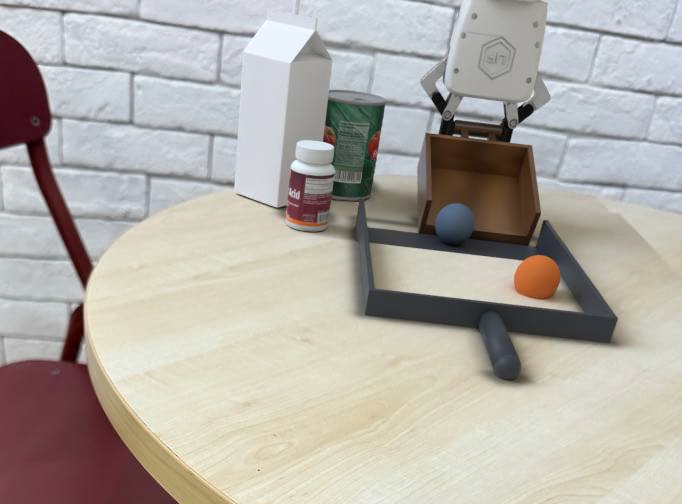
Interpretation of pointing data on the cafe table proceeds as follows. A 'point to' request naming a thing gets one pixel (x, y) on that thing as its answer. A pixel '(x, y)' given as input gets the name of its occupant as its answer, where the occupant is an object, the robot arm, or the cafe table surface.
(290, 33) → the milk carton
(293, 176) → the pill bottle
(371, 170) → the canned tomato
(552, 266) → the orange ball
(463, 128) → the drawer
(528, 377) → the cafe table surface
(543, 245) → the grey frame with handle
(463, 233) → the blue ball
